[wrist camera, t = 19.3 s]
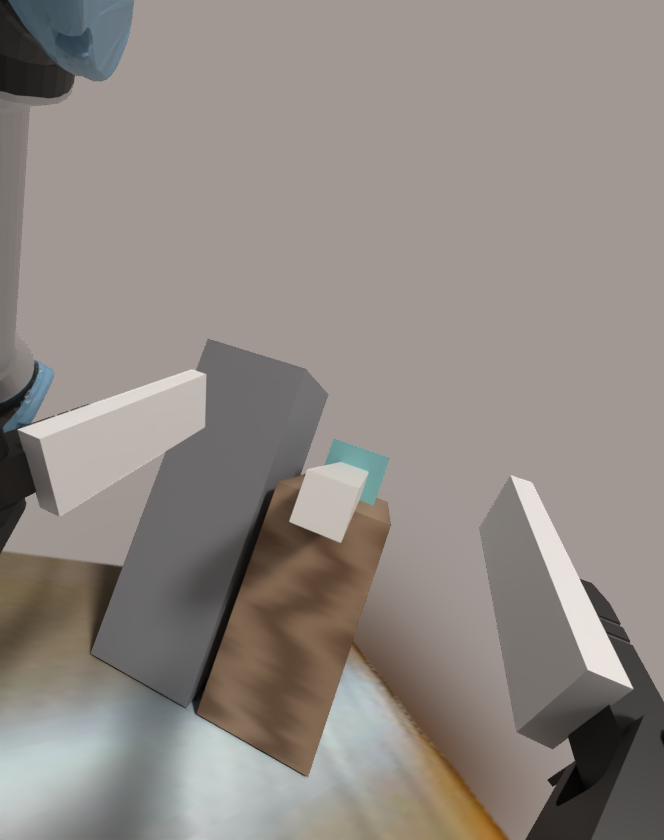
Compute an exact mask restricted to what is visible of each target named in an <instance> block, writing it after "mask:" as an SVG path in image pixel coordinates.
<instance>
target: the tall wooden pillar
mask: <svg viewBox="0 0 664 840" xmlns="http://www.w3.org/2000/svg"><path fill="white" fill-rule="evenodd" d="M305 475H306V474H304V475H300V476H296V477H293V478H289V479H285V480H282V481H278V483H277V485H276V488H275V491H274V494H273V497H272V500H271V502H270V505H269V508H268V511H267V514H266V517H265V520H264V522H263V525H262V528H261V531H260V534H259V537H258V540H257V542H256V545H255V548H254V551H253V554H252V557H251V559H250V562H249V565H248V568H247V571H246V574H245V577H244V579H243V582H242V585H241V588H240V591H239V594H238V596H237V599H236V602H235V605H234V608H233V611H232V614H231V616H230V619H229V622H228V625H227V628H226V631H225V633H224V636H223V639H222V642H221V645H220V648H219V651H218V653H217V656H216V659H215V662H214V665H213V668H212V670H211V673H210V676H209V679H208V682H207V685H206V688H205V690H204V693H203V696H202V699H201V702H200V705H199V707H198V710H197V713H196V714H198V715H200V716H202V717H203V718H205V719H207V720H209V721H210V722H212V723H214V724H216V725H217V726H219V727H221V728H223V729H225V730H226V731H228V732H230V733H232V734H233V735H235V736H237V737H239V738H240V739H242V740H244V741H246V742H247V743H249V744H251V745H253V746H254V747H256V748H258V749H260V750H262V751H263V752H265V753H267V754H269V755H270V756H272V757H274V758H276V759H277V760H279V761H281V762H283V763H284V764H286V765H288V766H290V767H292V768H293V769H295V770H297V771H299V772H300V773H302V774H304V775H306V776H307V777H308V776H309V773H310V769H311V766H312V763H313V760H314V757H315V754H316V751H317V748H318V745H319V742H320V739H321V736H322V733H323V730H324V727H325V724H326V721H327V718H328V715H329V712H330V709H331V706H332V703H333V700H334V697H335V693H336V690H337V687H338V684H339V681H340V678H341V675H342V672H343V669H344V666H345V663H346V660H347V657H348V654H349V651H350V648H351V645H352V642H353V639H354V636H355V633H356V629H357V627H358V623H359V620H360V618H361V614H362V611H363V608H364V605H365V602H366V599H367V596H368V593H369V590H370V587H371V584H372V581H373V578H374V575H375V572H376V569H377V566H378V563H379V560H380V557H381V554H382V550H383V547H384V544H385V541H386V538H387V535H388V532H389V529H390V526H391V523H390V516H389V509H388V502H386V501H383V500H381V499H378V498H376V500H375V503H374V506H373V505H370V504H368V503H365V502H362V501H360V500H359V502H358V505H357V507H356V509H355V511H354V514H353V516H352V518H351V521H350V523H349V525H348V528H347V530H346V532H345V535H344V537H343V539H342V542H341V543H340V542H337V541H335V540H332V539H330V538H327V537H325V536H323V535H320V534H318V533H315V532H313V531H310V530H308V529H305V528H303V527H301V526H298V525H296V524H293V523H291V522H289V521H290V518H291V515H292V512H293V509H294V506H295V503H296V501H297V498H298V495H299V492H300V489H301V486H302V483H303V480H304V477H305Z"/></svg>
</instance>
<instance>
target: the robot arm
mask: <svg viewBox="0 0 664 840" xmlns="http://www.w3.org/2000/svg"><path fill="white" fill-rule="evenodd" d="M133 5H134V0H0V553H1V552H2V550H3V547H4V546H5V544H6V542H7V541H8V539H9V537H10V535H11V533H12V532H13V530H14V528H15V526H16V524H17V523H18V521H19V519H20V517H21V515H22V513H23V512H24V510H25V507H26V501H25V497H27V496H29V495H31V494H33V493H35V492H36V495H37V499H38V502H39V505H40V507H41V508H43V509H44V510H47V511H49V512H51V513H53V514H55V515H57V516H59V517H60V516H62V515H63V514H65V513H67V512H68V511H70V510H72V509H73V508H75V507H76V506H78V505H80V504H81V503H83V502H84V501H86V500H88V499H89V498H91V497H93V496H94V495H96V494H97V493H99V492H101V491H102V490H104V489H106V488H107V487H109V486H110V485H112V484H114V483H115V482H117V481H119V480H120V479H122V478H123V477H125V476H127V475H128V474H130V473H132V472H133V471H135V470H136V469H138V468H139V467H141V466H143V465H144V464H146V463H148V462H149V461H151V460H153V459H154V458H156V457H157V456H159V455H161V454H162V453H164V452H166V451H167V450H169V449H170V448H172V447H174V446H175V445H177V444H179V443H180V442H182V441H183V440H185V439H187V438H188V437H190V436H192V435H193V434H195V433H196V432H198V431H200V430H201V429H203V428H205V410H206V374H204V373H201V372H198V371H195V370H188V371H185V372H183V373H180V374H177V375H174V376H171V377H168V378H165V379H163V380H159V381H157V382H154V383H151V384H148V385H145V386H142V387H139V388H137V389H133V390H130V391H128V392H125V393H122V394H119V395H116V396H113V397H110V398H108V399H104V400H101V401H99V402H96V403H93V404H87V405H84V406H81V407H78V408H75V409H72V410H71V411H70V412H69V411H66V412H63V413H60V414H58V415H57V416H52V417H49V418H46V419H43V420H40V421H37V422H34V423H31V422H32V420H33V419H34V417H35V415H36V413H37V411H38V410H39V408H40V406H41V403H42V402H43V400H44V397H45V395H46V393H47V391H48V389H49V387H50V385H51V383H52V380H53V378H54V371H53V369H52V368H50V367H48V366H46V365H44V364H42V363H41V362H39V361H35V360H34V359H33V354H32V353H31V350H30V348H29V347H28V345H27V344H26V342H25V341H24V340H23V339H22V338H21V336H19V335H18V334H17V333H16V332H15V330H16V313H17V299H18V282H19V267H20V251H21V236H22V218H23V204H24V187H25V173H26V157H27V141H28V126H29V109H30V106H41V105H50V104H57V103H60V102H62V101H64V100H66V99H67V98H68V97H69V96H70V94H71V92H72V88H73V84H74V77H75V75H76V76H83V77H85V78H87V79H90V80H92V81H104V80H106V79H108V78H109V77H110V76H111V75H112V73H113V72H114V71H115V69H116V67H117V66H118V64H119V62H120V60H121V57H122V54H123V52H124V49H125V46H126V44H127V40H128V37H129V33H130V27H131V21H132V14H133ZM479 529H480V535H481V540H482V546H483V551H484V557H485V562H486V568H487V573H488V579H489V584H490V590H491V595H492V601H493V606H494V612H495V617H496V622H497V628H498V634H499V639H500V645H501V650H502V656H503V661H504V667H505V672H506V678H507V683H508V689H509V694H510V699H511V705H512V711H513V716H514V721H515V727H516V732H517V733H519V734H521V735H523V736H526V737H528V738H530V739H532V740H534V741H536V742H538V743H540V744H542V745H545V746H547V747H549V748H551V749H554V748H555V747H556V746H558V745H559V744H560V743H562V742H563V741H565V740H566V739H567V738H569V742H570V745H571V749H572V752H573V756H574V759H575V761H574V762H573V763H571V764H570V765H568V766H567V767H565V768H564V769H562V770H561V771H559V772H558V773H556V774H555V775H553V776H552V777H551V778H549V779H548V781H549V783H550V784H551V785H552V786H555V785H556V784H557V785H556V787H555V788H554V790H553V792H552V794H551V795H550V797H549V799H548V801H547V802H546V804H545V806H544V808H543V810H542V811H541V813H540V815H539V817H538V818H537V820H536V822H535V824H534V826H533V827H532V829H531V831H530V832H529V834H528V836H527V838H526V840H664V702H663V700H662V698H661V696H660V694H659V692H658V691H657V689H656V687H655V685H654V683H653V682H652V680H651V678H650V676H649V674H648V672H647V671H646V669H645V667H644V665H643V663H642V662H641V660H640V658H639V656H638V654H637V652H636V651H635V649H634V647H633V645H631V644H630V640H629V638H628V636H627V634H626V632H625V631H624V629H623V628H622V627H620V621H619V620H618V618H617V616H616V614H615V612H614V611H613V609H612V607H611V605H610V603H609V602H608V601H607V600H606V599H605V598H604V596H603V595H602V594H601V593H600V592H599V591H598V590H597V588H596V587H595V586H594V585H593V584H592V583H590V582H587V581H584V580H582V579H579V577H578V575H577V573H576V571H575V569H574V567H573V565H572V563H571V561H570V559H569V557H568V555H567V553H566V551H565V549H564V547H563V545H562V543H561V540H560V539H559V537H558V534H557V532H556V530H555V528H554V526H553V524H552V522H551V520H550V518H549V516H548V514H547V512H546V510H545V508H544V506H543V504H542V502H541V500H540V498H539V496H538V494H537V492H536V490H535V488H534V486H533V484H532V482H529V481H526V480H523V479H520V478H517V477H514V476H510V477H509V479H508V480H507V482H506V484H505V485H504V487H503V489H502V490H501V492H500V494H499V495H498V497H497V499H496V500H495V502H494V504H493V506H492V507H491V509H490V511H489V512H488V514H487V516H486V517H485V519H484V521H483V522H482V524H481V526H480V527H479Z"/></svg>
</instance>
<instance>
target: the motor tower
mask: <svg viewBox="0 0 664 840" xmlns="http://www.w3.org/2000/svg"><path fill="white" fill-rule="evenodd" d="M196 371H198V372H201V373H204V374H206V410H205V428H203V429H201V430H200V431H198V432H196V433H195V434H193V435H192V436H190V437H188V438H187V439H185V440H183V441H182V442H180V443H179V444H177V445H175V446H174V447H172V448H170V449H169V450H167V451H166V453H165V455H164V458H163V461H162V463H161V466H160V469H159V471H158V474H157V477H156V479H155V482H154V485H153V487H152V490H151V493H150V495H149V498H148V501H147V503H146V506H145V509H144V512H143V514H142V517H141V520H140V522H139V525H138V528H137V530H136V533H135V536H134V538H133V541H132V544H131V546H130V549H129V552H128V555H127V557H126V560H125V562H124V565H123V568H122V570H121V573H120V576H119V578H118V581H117V584H116V586H115V589H114V592H113V595H112V597H111V600H110V603H109V605H108V608H107V611H106V613H105V616H104V619H103V621H102V624H101V627H100V629H99V632H98V635H97V637H96V640H95V643H94V645H93V648H92V651H91V654H92V655H94V656H96V657H98V658H99V659H101V660H103V661H105V662H106V663H108V664H110V665H112V666H113V667H115V668H117V669H119V670H121V671H122V672H124V673H126V674H128V675H129V676H131V677H133V678H135V679H136V680H138V681H140V682H142V683H143V684H145V685H147V686H149V687H150V688H152V689H154V690H156V691H158V692H159V693H161V694H163V695H165V696H166V697H168V698H170V699H172V700H173V701H175V702H177V703H179V704H180V705H182V706H184V707H187V706H188V705H189V703H190V702H191V701H192V699H193V698H194V697H195V695H196V694H197V693H198V691H199V690H200V689H201V688H202V686H203V685H204V684H205V682H206V681H207V680H208V678H209V676H210V673H211V670H212V668H213V665H214V662H215V659H216V656H217V653H218V651H219V648H220V645H221V642H222V639H223V636H224V633H225V631H226V628H227V625H228V622H229V619H230V616H231V614H232V611H233V608H234V605H235V602H236V599H237V596H238V594H239V591H240V588H241V585H242V582H243V579H244V577H245V574H246V571H247V568H248V565H249V562H250V559H251V557H252V554H253V551H254V548H255V545H256V542H257V540H258V537H259V534H260V531H261V528H262V525H263V522H264V520H265V517H266V514H267V511H268V508H269V505H270V502H271V500H272V497H273V494H274V491H275V488H276V485H277V483H278V481H282V480H285V479H289V478H293V477H296V476H300V475H301V472H302V469H303V466H304V463H305V460H306V458H307V454H308V452H309V449H310V446H311V443H312V440H313V437H314V435H315V431H316V429H317V426H318V423H319V420H320V417H321V414H322V411H323V408H324V406H325V403H326V400H327V397H328V394H327V392H326V391H325V390H324V389H323V388H322V387H321V386H320V384H319V383H318V382H317V381H316V380H315V379H314V378H313V377H312V375H311V374H310V373H309V372H308V371H307V370H306V369H304V368H301V367H298V366H295V365H291V364H288V363H285V362H281V361H278V360H275V359H272V358H269V357H265V356H262V355H259V354H256V353H252V352H249V351H246V350H243V349H239V348H236V347H233V346H230V345H226V344H223V343H220V342H217V341H213V340H210V339H208V340H207V343H206V345H205V348H204V351H203V353H202V356H201V359H200V361H199V364H198V367H197V369H196Z"/></svg>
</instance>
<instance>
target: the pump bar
mask: <svg viewBox="0 0 664 840" xmlns="http://www.w3.org/2000/svg"><path fill="white" fill-rule="evenodd" d="M388 461H389V457H386V456H383V455H380V454H377V453H374V452H371V451H369V450H366V449H363V448H360V447H357V446H354V445H351V444H348V443H345V442H343V441H339V440H336V439H333V442H332V445H331V448H330V451H329V454H328V457H327V459H326V462H325V465H324V466H320V467H315V468H311V469H307V472H306V475H305V477H304V480H303V483H302V486H301V489H300V492H299V495H298V498H297V501H296V503H295V506H294V509H293V512H292V515H291V518H290V521H289V522H291V523H293V524H296V525H298V526H301V527H303V528H305V529H308V530H310V531H313V532H315V533H318V534H320V535H323V536H325V537H327V538H330V539H332V540H335V541H337V542H340V543H341V542H342V539H343V537H344V535H345V532H346V530H347V528H348V525H349V523H350V521H351V518H352V516H353V514H354V511H355V509H356V507H357V505H358V502H359V500H360V501H362V502H365V503H368V504H370V505H373V506H374V503H375V500H376V497H377V494H378V491H379V488H380V485H381V482H382V479H383V476H384V473H385V470H386V467H387V464H388Z"/></svg>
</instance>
